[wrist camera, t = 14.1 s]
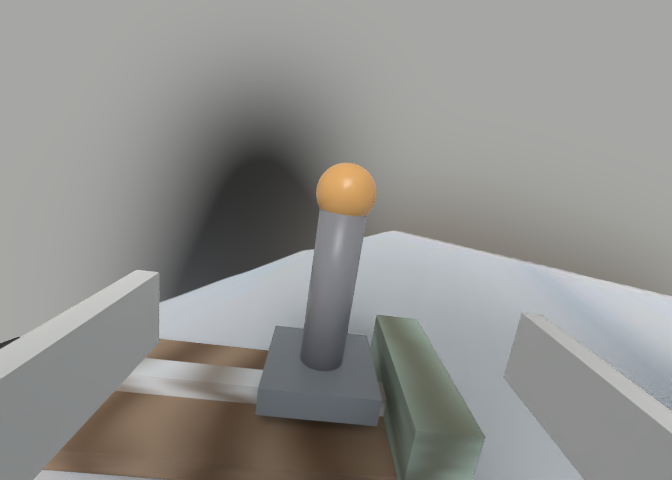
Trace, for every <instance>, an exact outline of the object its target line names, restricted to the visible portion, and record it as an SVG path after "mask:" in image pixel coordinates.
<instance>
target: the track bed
mask: <svg viewBox="0 0 672 480" xmlns="http://www.w3.org/2000/svg"><path fill="white" fill-rule="evenodd" d="M268 352H269V351H267V350H257V349H248V348H239V347H229V346H220V345H211V344H201V343H192V342H183V341H173V340H164V339H159V343H158V344H157V346H156V347H155V348H154V349H153V350H152V351H151V352H150V353H149V354H148V355H147V356H146V358H145V359H144V360H143V361H142V362H141V363H140V364H139V365H138V366H137V367H136V368H135V369H134V371H133V372H132V373H131V374H130V375H129V376H128V377H127V378H126V379H125V380H124V381H123V382H122V384H121V385H120V386H119V387H118V388H117V389H116V390H115V391H114V392H113V393H112V394H111V396H110V397H109V398H108V399H107V400H106V401H105V402H104V403H103V404H102V405H101V406H100V407H99V409H98V410H97V411H96V412H95V413H94V414H93V415H92V416H91V417H90V418H89V419H88V421H87V422H86V423H85V424H84V425H83V426H82V427H81V428H80V429H79V430H78V431H77V432H76V434H75V435H74V436H73V437H72V438H71V439H70V440H69V441H68V442H67V443H66V444H65V445H64V447H63V448H62V449H61V450H60V451H59V452H58V453H57V454H56V455H55V456H54V457H53V459H52V460H51V461H50V462H49V463H48V464H47V465H46V466H45V467H44V468H43V469H44V470H57V471H70V472H82V473H95V474H108V475H120V476H133V477H146V478H159V479H171V480H472V479H473V475H474V472H475V469H476V466H477V462H478V459H479V456H480V452H481V449H482V446H483V442H484V439H485V436H484V434H483V433H482V431H481V429H480V427H479V426H478V424H477V422H476V421H475V419H474V417H473V415H472V414H471V412H470V410H469V408H468V407H467V405H466V403H465V402H464V400H463V398H462V396H461V395H460V393H459V391H458V389H457V388H456V386H455V384H454V383H453V381H452V379H451V377H450V376H449V374H448V372H447V370H446V369H445V367H444V365H443V364H442V362H441V360H440V358H439V357H438V355H437V353H436V351H435V350H434V348H433V346H432V345H431V343H430V341H429V339H428V338H427V336H426V334H425V332H424V331H423V329H422V327H421V326H420V324H419V322H418V320H417V319H409V318H400V317H391V316H383V315H377V317H376V322H375V327H374V333H373V338H372V343H371V348H370V352H371V356H372V360H373V364H374V368H375V373H376V377H377V381H378V385H379V389H380V393H381V397H382V405H381V409H380V414H379V419H378V424H377V426H368V425H357V424H347V423H336V422H325V421H314V420H304V419H293V418H282V417H272V416H261V415H255V413H256V403H257V393H258V387H259V383H260V380H261V376H262V373H263V369H264V366H265V362H266V359H267V355H268Z"/></svg>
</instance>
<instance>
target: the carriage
mask: <svg viewBox="0 0 672 480" xmlns="http://www.w3.org/2000/svg"><path fill="white" fill-rule="evenodd" d="M316 196H317V201H318V204H319V206H320V213H319V220H318V228H317V235H316V243H315V250H314V258H313V265H312V272H311V280H310V287H309V295H308V302H307V310H306V317H305V325H304V329H300V328H291V327H282V326H276V327H275V331H274V334H273V338H272V341H271V345H270V348H269V352H268V355H267V359H266V362H265V366H264V369H263V373H262V376H261V380H260V383H259V387H258V393H257V403H256V413H255V415H261V416H272V417H282V418H293V419H304V420H314V421H325V422H336V423H347V424H357V425H368V426H377V424H378V419H379V414H380V409H381V405H382V397H381V393H380V389H379V385H378V381H377V377H376V373H375V368H374V364H373V360H372V356H371V352H370V348H369V344H368V339H367V336H362V335H353V334H347V331H348V325H349V319H350V313H351V307H352V301H353V295H354V289H355V283H356V277H357V272H358V266H359V260H360V254H361V248H362V242H363V236H364V230H365V224H366V218H367V215H368V213H369V212H370V211H371V210H372V208H373V206H374V203H375V200H376V186H375V182H374V180H373V178H372V177H371V175H370V174H369V173H368V171H366V170H365V169H364V168H362V167H361V166H359V165H357V164H353V163H340V164H337V165H334V166H332V167H331V168H329V169H328V170H326V171H325V173H324V174H323V175H322V176H321V178H320V180H319V182H318V185H317V191H316Z"/></svg>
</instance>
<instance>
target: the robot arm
mask: <svg viewBox="0 0 672 480" xmlns="http://www.w3.org/2000/svg"><path fill="white" fill-rule="evenodd" d="M158 343H159V273H158V272H150V271H142V270H136V271H134V272H132V273H130V274H129V275H127V276H125V277H124V278H122V279H120V280H118V281H117V282H115V283H114V284H112V285H110V286H108V287H106V288H105V289H103V290H101V291H100V292H98V293H96V294H94V295H93V296H91V297H89V298H87V299H86V300H84V301H82V302H81V303H79V304H77V305H76V306H74V307H72V308H70V309H68V310H67V311H65V312H63V313H62V314H60V315H58V316H56V317H55V318H53V319H51V320H50V321H48V322H46V323H44V324H43V325H41V326H39V327H38V328H36V329H34V330H32V331H31V332H29V333H27V334H26V335H24V336H22V337H17V338H14V339H11V340H9V341H6V342H3V343H0V480H33V479H34V478H35V477H36V476H37V475H38V474H39V473H40V472H41V470H42V469H43V468H44V467H45V466H46V465H47V464H48V463H49V462H50V461H51V460H52V459H53V457H54V456H55V455H56V454H57V453H58V452H59V451H60V450H61V449H62V448H63V447H64V445H65V444H66V443H67V442H68V441H69V440H70V439H71V438H72V437H73V436H74V435H75V434H76V432H77V431H78V430H79V429H80V428H81V427H82V426H83V425H84V424H85V423H86V422H87V421H88V419H89V418H90V417H91V416H92V415H93V414H94V413H95V412H96V411H97V410H98V409H99V407H100V406H101V405H102V404H103V403H104V402H105V401H106V400H107V399H108V398H109V397H110V396H111V394H112V393H113V392H114V391H115V390H116V389H117V388H118V387H119V386H120V385H121V384H122V382H123V381H124V380H125V379H126V378H127V377H128V376H129V375H130V374H131V373H132V372H133V371H134V369H135V368H136V367H137V366H138V365H139V364H140V363H141V362H142V361H143V360H144V359H145V358H146V356H147V355H148V354H149V353H150V352H151V351H152V350H153V349H154V348H155V347H156V346H157V344H158ZM503 378H504V379H505V380H506V382H507V383H508V384H509V385H510V387H511V388H512V389H513V390H514V392H515V393H516V394H517V395H518V397H519V398H520V399H521V400H522V402H523V403H524V404H525V405H526V407H527V408H528V409H529V411H530V412H531V413H532V414H533V416H534V417H535V418H536V419H537V421H538V422H539V423H540V424H541V426H542V427H543V428H544V429H545V431H546V432H547V433H548V434H549V436H550V437H551V438H552V440H553V441H554V442H555V443H556V445H557V446H558V447H559V448H560V450H561V451H562V452H563V453H564V455H565V456H566V457H567V458H568V460H569V461H570V462H571V464H572V465H573V466H574V467H575V469H576V470H577V471H578V472H579V474H580V475H581V476H582V477H583V479H584V480H672V411H671V410H670V409H668V408H667V407H665V406H664V405H663V404H661V403H660V402H659V401H657V400H656V399H655V398H653V397H652V396H651V395H649V394H648V393H647V392H645V391H644V390H642V389H641V388H640V387H638V386H637V385H636V384H634V383H633V382H632V381H630V380H629V379H628V378H626V377H625V376H624V375H622V374H621V373H619V372H618V371H617V370H615V369H614V368H613V367H611V366H610V365H609V364H607V363H606V362H605V361H603V360H602V359H601V358H599V357H598V356H596V355H595V354H594V353H592V352H591V351H590V350H588V349H587V348H586V347H584V346H583V345H582V344H580V343H579V342H578V341H576V340H575V339H573V338H572V337H571V336H569V335H568V334H567V333H565V332H564V331H563V330H561V329H560V328H559V327H557V326H556V325H555V324H553V323H552V322H550V321H549V320H548V319H546V318H545V317H544V316H542V315H536V314H527V313H522V314H521V318H520V321H519V325H518V328H517V332H516V335H515V339H514V342H513V346H512V349H511V353H510V356H509V360H508V363H507V367H506V370H505V374H504V377H503Z"/></svg>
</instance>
